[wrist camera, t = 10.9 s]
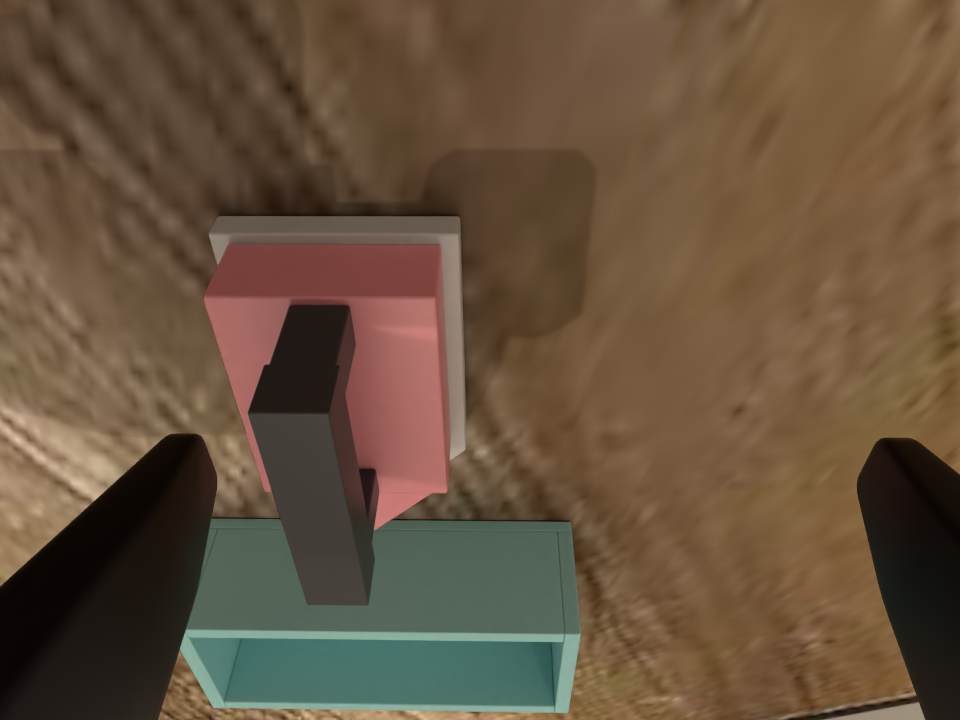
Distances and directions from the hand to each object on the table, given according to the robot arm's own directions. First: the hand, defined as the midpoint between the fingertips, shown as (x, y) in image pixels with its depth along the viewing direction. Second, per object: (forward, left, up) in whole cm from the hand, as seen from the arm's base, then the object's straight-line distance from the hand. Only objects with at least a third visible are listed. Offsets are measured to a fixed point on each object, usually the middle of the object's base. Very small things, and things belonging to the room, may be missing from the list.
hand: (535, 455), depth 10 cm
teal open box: (-5, -21, -12) cm, 25 cm away
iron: (-5, -10, -12) cm, 16 cm away
